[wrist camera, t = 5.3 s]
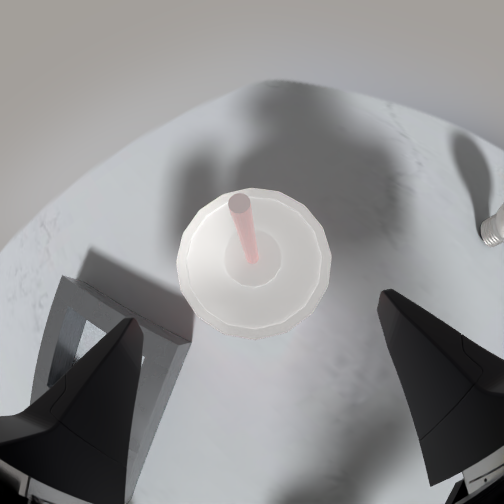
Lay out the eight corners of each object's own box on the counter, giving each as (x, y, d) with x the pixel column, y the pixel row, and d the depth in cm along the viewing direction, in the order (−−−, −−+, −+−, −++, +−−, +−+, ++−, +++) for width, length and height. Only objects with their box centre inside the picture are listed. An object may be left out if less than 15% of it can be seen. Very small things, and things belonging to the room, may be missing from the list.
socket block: (131, 498, 15) (117, 513, 12) (45, 434, 16) (27, 440, 13) (191, 342, 18) (178, 345, 15) (83, 281, 20) (62, 275, 17)
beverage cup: (300, 244, 20) (351, 101, 6) (305, 329, 18) (395, 343, 5) (216, 248, 20) (132, 117, 7) (217, 332, 18) (102, 347, 5)
